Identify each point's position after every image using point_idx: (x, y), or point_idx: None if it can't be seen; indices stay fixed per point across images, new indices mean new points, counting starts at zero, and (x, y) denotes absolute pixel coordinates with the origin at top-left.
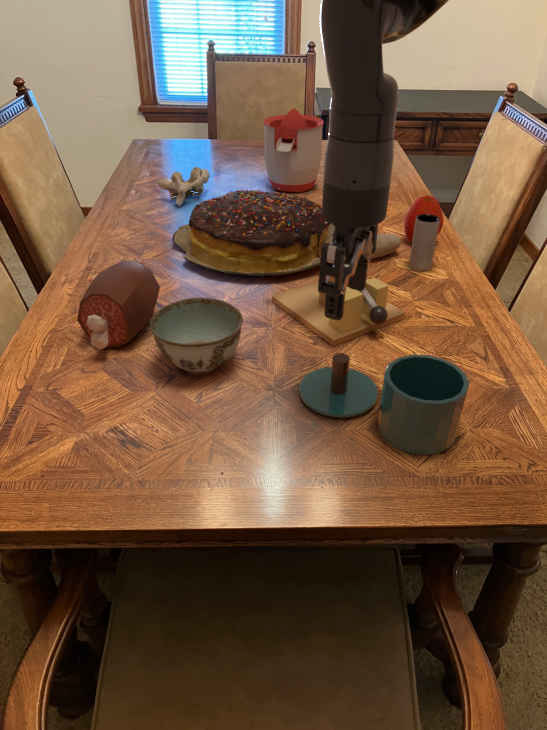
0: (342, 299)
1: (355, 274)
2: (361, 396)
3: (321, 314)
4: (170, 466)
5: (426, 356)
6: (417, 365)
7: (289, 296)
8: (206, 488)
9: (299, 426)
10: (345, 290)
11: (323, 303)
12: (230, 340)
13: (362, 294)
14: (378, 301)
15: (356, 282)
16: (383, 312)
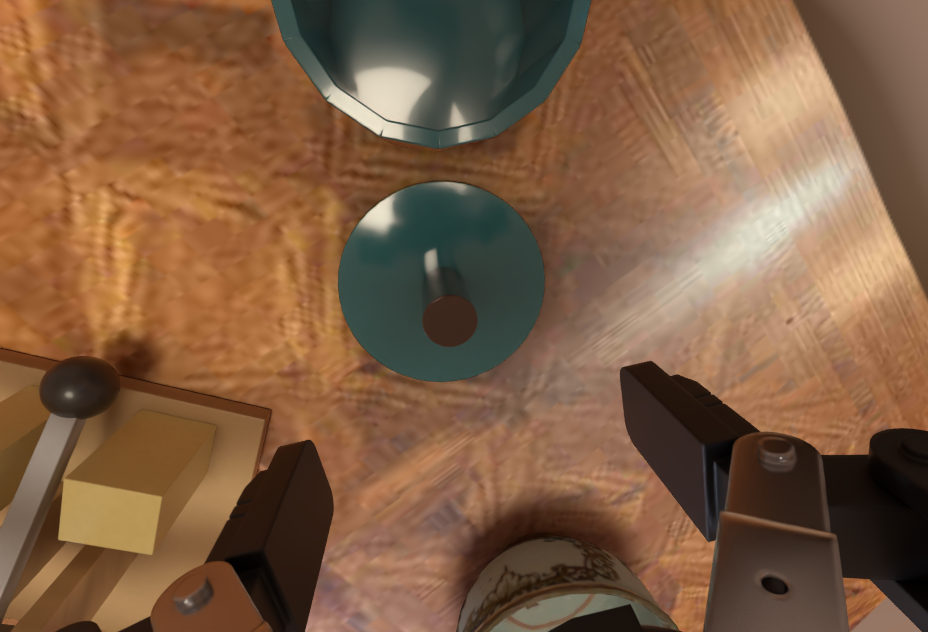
0: (719, 418)
1: (306, 543)
2: (431, 224)
3: (183, 514)
4: (813, 402)
5: (299, 42)
6: (332, 75)
7: None
8: (834, 317)
9: (593, 287)
10: (771, 444)
11: None
12: (572, 577)
13: (69, 480)
14: (16, 428)
15: (313, 497)
16: (68, 377)
